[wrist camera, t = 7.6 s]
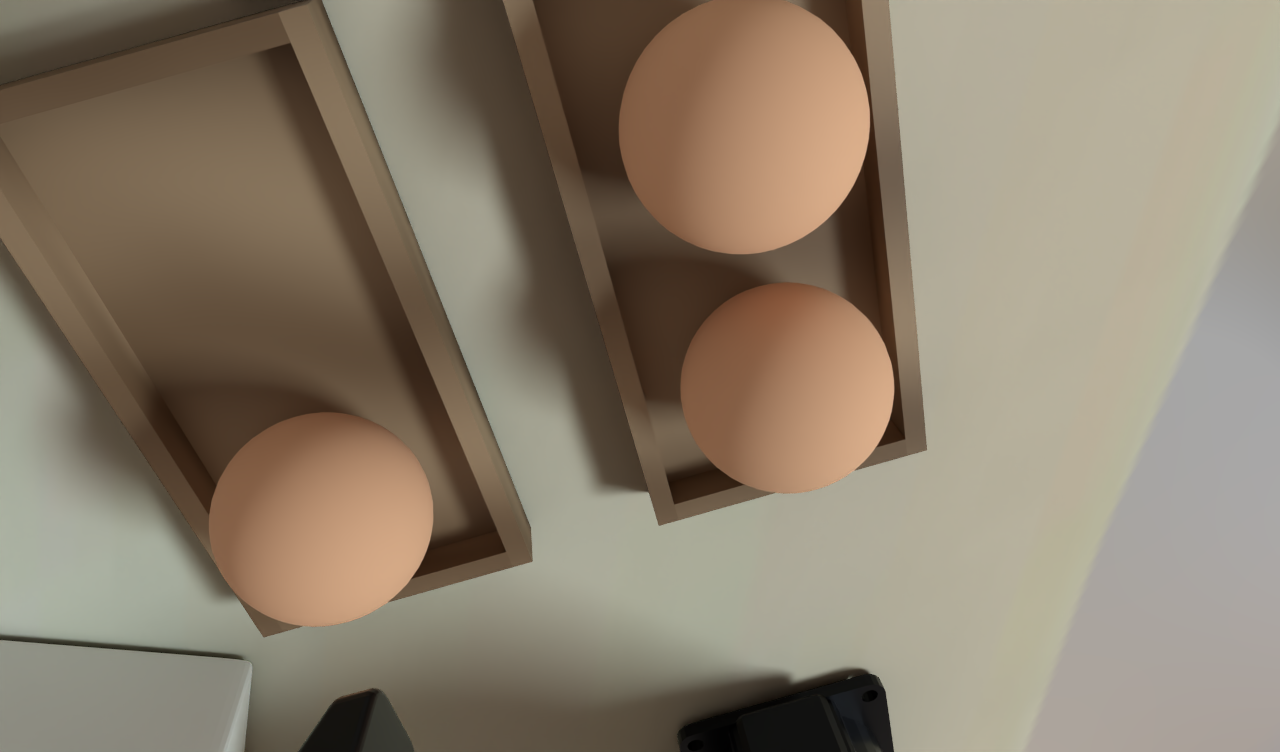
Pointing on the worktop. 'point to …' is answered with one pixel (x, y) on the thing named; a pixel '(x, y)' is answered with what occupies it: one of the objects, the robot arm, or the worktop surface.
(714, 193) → the ball
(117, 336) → the trough
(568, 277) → the worktop surface
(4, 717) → the milk carton
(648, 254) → the trough
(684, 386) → the ball
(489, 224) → the worktop surface
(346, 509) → the ball
